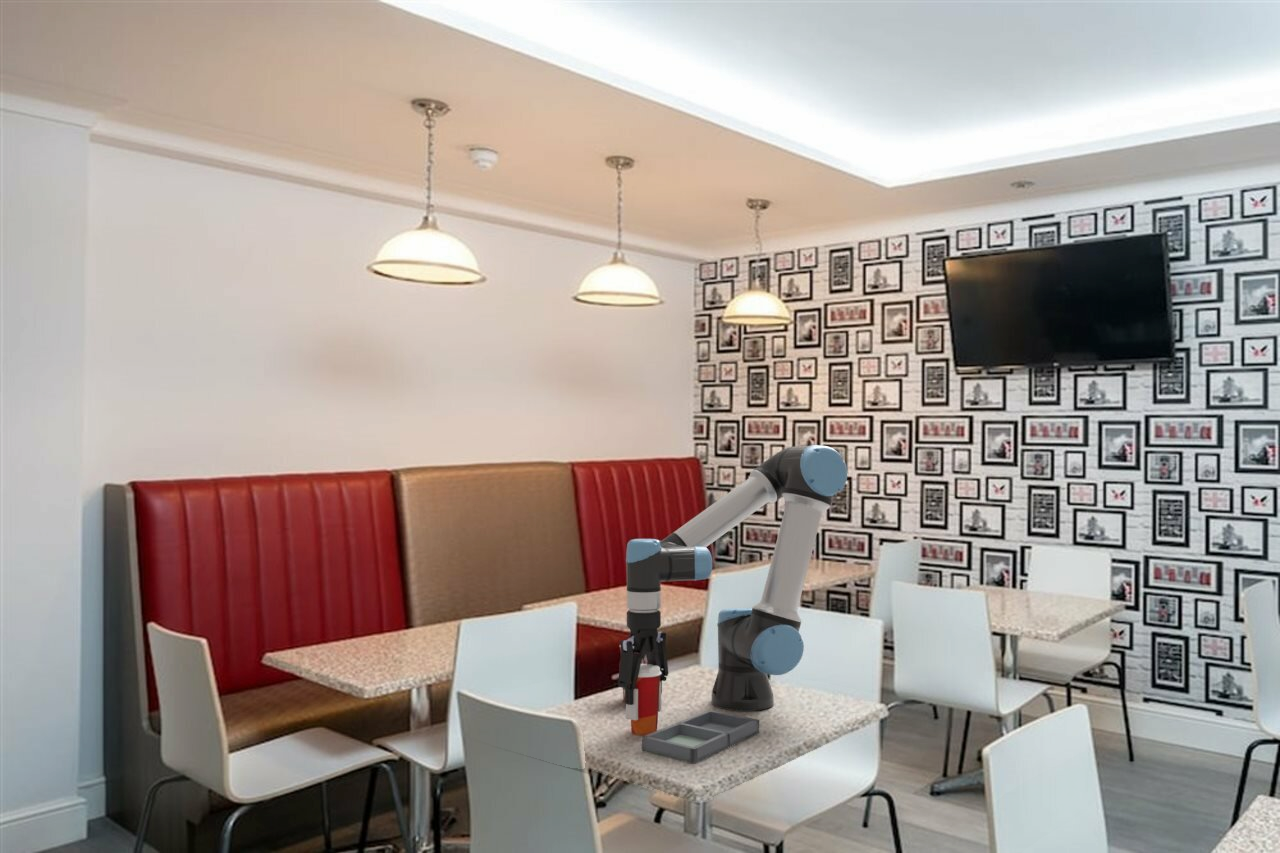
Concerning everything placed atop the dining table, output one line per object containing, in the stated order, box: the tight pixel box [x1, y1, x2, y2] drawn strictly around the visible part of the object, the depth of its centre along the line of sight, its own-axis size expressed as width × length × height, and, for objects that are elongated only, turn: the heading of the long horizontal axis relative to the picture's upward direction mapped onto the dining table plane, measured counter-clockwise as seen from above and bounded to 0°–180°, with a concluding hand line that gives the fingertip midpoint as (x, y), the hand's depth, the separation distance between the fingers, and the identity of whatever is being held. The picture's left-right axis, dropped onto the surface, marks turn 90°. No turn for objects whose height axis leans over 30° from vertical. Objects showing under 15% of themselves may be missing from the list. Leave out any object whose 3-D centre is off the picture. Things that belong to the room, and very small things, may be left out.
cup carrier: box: [641, 709, 760, 765], centre depth 187 cm, size 25×13×3 cm, turn 142°
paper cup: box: [630, 664, 662, 736], centre depth 194 cm, size 8×8×14 cm
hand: (644, 714), depth 194 cm, fingers closed on paper cup, 8 cm apart
